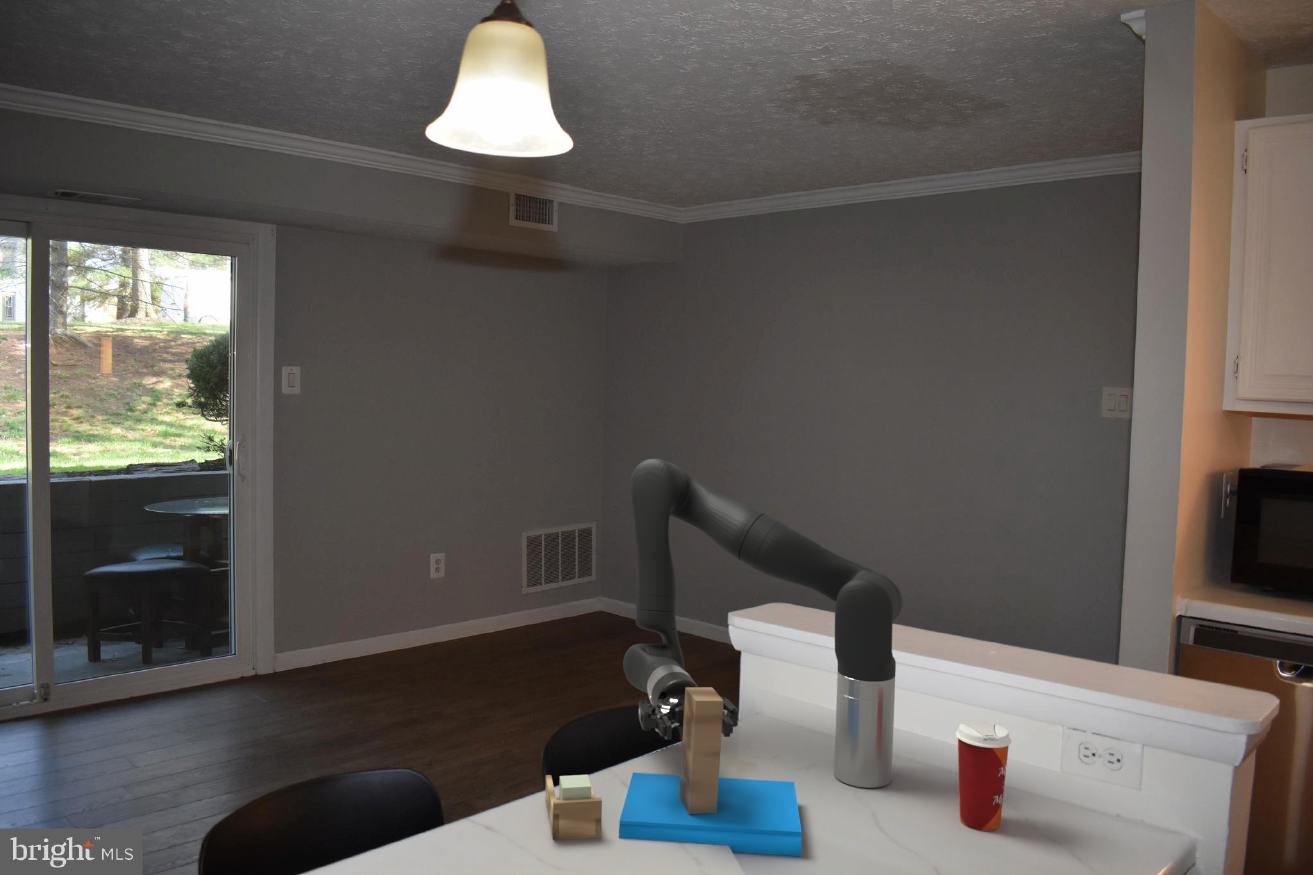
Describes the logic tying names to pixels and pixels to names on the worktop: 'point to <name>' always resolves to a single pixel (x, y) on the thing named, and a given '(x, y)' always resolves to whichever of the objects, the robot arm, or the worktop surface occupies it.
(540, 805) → the worktop surface
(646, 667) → the robot arm
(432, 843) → the worktop surface
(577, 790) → the offcut upper
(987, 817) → the paper cup
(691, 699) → the tall wooden block
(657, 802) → the book
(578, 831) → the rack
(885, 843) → the worktop surface
